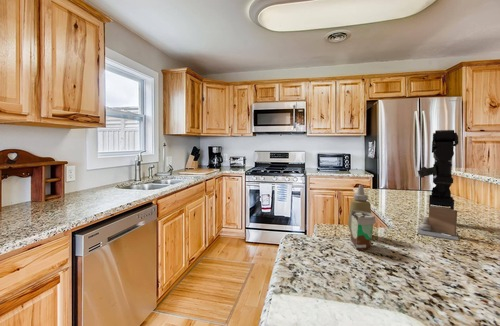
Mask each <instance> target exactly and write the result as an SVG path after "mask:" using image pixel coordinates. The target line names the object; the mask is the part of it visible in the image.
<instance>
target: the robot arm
mask: <svg viewBox="0 0 500 326" xmlns="http://www.w3.org/2000/svg"><path fill="white" fill-rule="evenodd" d="M457 145H459V135H458V133H457V132H455V129H440V130H437V129H436V130H435V132H433V133H432V141H431V153H433V154H432V155H433V158H434V162H433V163H434V164H433V165H432V166H430V167H428V168H427V167H426V166H422V167H420V169H419V170H417V173H418V176H419V179H422V178H425V177H429V176H432V183H433V184H434V185H435V186H433V187H432V189H431V194H429V197H428V208H429V207H430V206H432V207H439V208H445V209H451V210H455V199H454V198H453V196H452V193H451V192H452V191H451V189H450V187H452V184H454V178H453V177H452V176H453V174H452V171H453V157H454V155H455V152H454V148H455V147H457Z"/></svg>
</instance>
